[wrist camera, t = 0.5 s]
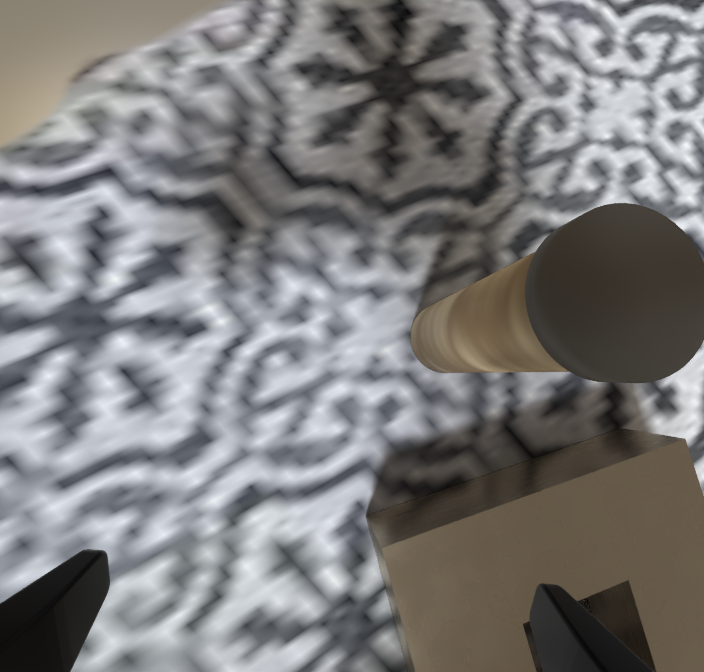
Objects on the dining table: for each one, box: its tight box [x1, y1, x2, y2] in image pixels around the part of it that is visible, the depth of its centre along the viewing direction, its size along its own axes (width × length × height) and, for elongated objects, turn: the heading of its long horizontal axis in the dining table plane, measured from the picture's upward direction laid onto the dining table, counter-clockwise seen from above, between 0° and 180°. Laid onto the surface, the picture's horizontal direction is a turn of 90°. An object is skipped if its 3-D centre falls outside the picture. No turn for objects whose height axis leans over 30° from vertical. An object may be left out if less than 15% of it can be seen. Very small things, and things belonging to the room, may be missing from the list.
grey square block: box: [366, 428, 704, 672], centre depth 20 cm, size 16×16×4 cm
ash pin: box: [410, 203, 704, 383], centre depth 17 cm, size 5×5×13 cm
